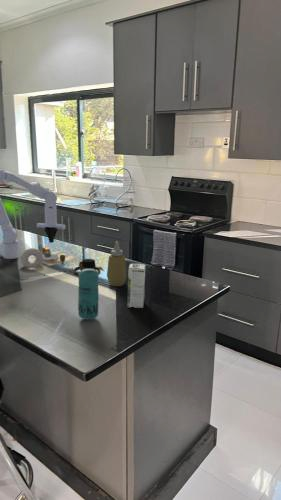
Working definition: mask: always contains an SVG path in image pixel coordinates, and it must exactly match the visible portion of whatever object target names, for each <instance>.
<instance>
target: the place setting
mask: <svg viewBox="0 0 281 500" xmlns="http://www.w3.org/2000/svg"><path fill="white" fill-rule="evenodd" d="M60 261H62V263H61V264H65V263H64V262H63V261H65V255H60ZM83 269H94V270H96V271H97V272H98V274H100V272H101V271H103V272H105V270H104V269H103V267H102V266H95V267H94V268H83V267H82V261H80V262H79V263H78V266H77V267H74V268H73V273H74V274H75V275H78V274H79V272H80V271H81V270H83ZM79 270H80V271H79ZM78 271H79V272H78ZM63 272H66V269H65V270H64V269H63ZM78 276H79V275H78Z"/></svg>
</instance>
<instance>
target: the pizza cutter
mask: <svg viewBox="0 0 281 500" xmlns="http://www.w3.org/2000/svg"><path fill="white" fill-rule="evenodd" d="M44 248H45V252H44V254H42V255H43V261H52V260H56V259H58V255H57V254H51V253H52V252H51V247H50V246H44Z"/></svg>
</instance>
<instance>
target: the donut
mask: <svg viewBox="0 0 281 500" xmlns="http://www.w3.org/2000/svg"><path fill="white" fill-rule="evenodd" d="M30 256H35V257H36V260H35V259H34V261H30V260H29V258H30ZM42 262H43V255H42V251H40V250H39V249H37V248H35V247H34V248H33V247H30V248H26V249H25V250H24V251H23V252H22V253H21V255H20V264H21V265H22V267H24V268H26V269H27V268H29V269H30V268H39V267H40V266H42V265H43V263H42Z"/></svg>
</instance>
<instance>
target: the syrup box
mask: <svg viewBox="0 0 281 500" xmlns="http://www.w3.org/2000/svg"><path fill="white" fill-rule="evenodd" d="M127 274H128V275H127V278H128V279H127V280H128V282H127V297H126V298H127V299H126V301H127V303H126V305H127V306H126V307H127V308H131V307H134V308H137V309H138V308H139V309H143V308H144V304H145V303H144V302H145V286H146V285H145V284H146V283H145V281H146V264H143V263H130V264H129V266H128V273H127Z"/></svg>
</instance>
